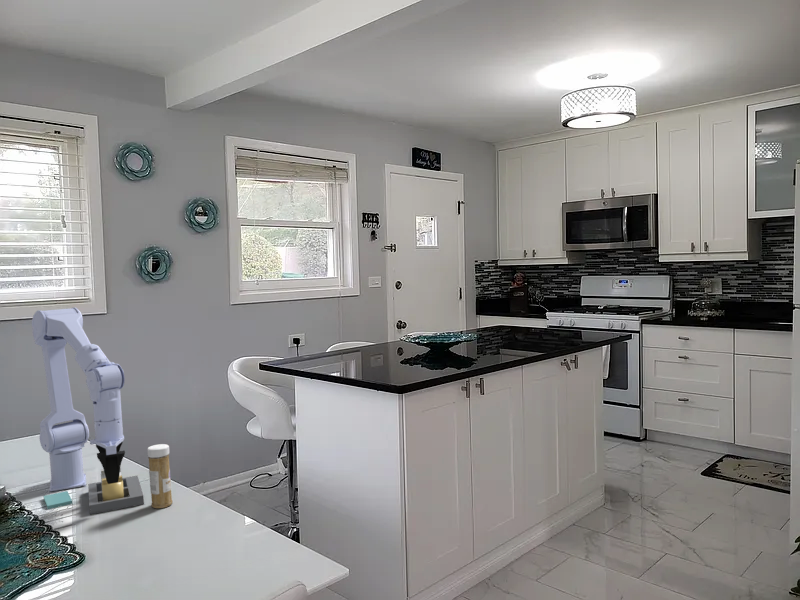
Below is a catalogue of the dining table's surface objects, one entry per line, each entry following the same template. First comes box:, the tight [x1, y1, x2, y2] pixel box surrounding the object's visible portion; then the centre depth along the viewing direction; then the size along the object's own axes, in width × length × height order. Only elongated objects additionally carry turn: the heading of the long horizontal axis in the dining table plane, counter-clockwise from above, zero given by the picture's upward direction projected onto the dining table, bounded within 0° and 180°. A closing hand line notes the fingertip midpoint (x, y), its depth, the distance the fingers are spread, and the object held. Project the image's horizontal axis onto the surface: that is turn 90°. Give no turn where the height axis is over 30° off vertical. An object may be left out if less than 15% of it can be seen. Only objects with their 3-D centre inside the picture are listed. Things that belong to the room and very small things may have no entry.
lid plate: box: [43, 490, 73, 510], centre depth 148 cm, size 8×5×1 cm, turn 35°
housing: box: [87, 475, 145, 515], centre depth 149 cm, size 16×11×2 cm
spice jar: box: [146, 443, 173, 509], centre depth 143 cm, size 5×5×14 cm
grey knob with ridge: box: [100, 467, 122, 485], centre depth 152 cm, size 4×4×6 cm
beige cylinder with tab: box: [102, 474, 125, 502], centre depth 145 cm, size 4×4×6 cm
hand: (112, 477), depth 145 cm, fingers open, 7 cm apart
